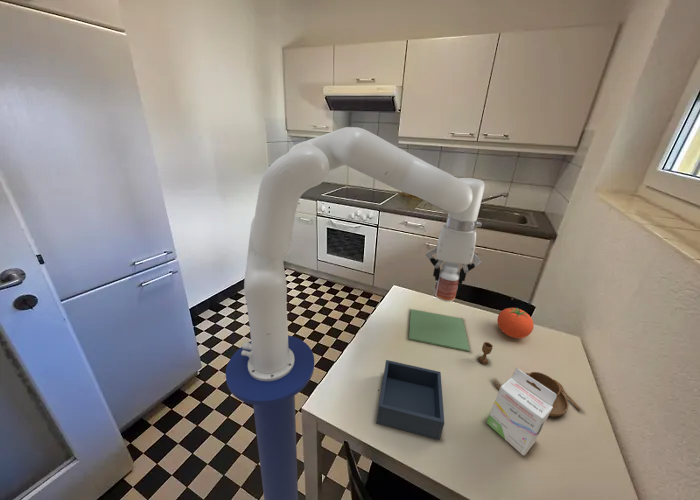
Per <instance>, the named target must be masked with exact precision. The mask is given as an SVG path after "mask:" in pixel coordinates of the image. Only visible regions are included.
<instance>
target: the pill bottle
mask: <svg viewBox="0 0 700 500" xmlns="http://www.w3.org/2000/svg"><path fill="white" fill-rule="evenodd" d="M460 269H461V266H460V265H459V263H452V262H446V261H443V262H442V268H440V273H439V277H438V280H437V281H436V284H435V288H434V296H435V298H436V299H438V300H440V301H442V302H447V303H449V302H453V301H455V299H456V296H457V292H458V287H459V279H460V274H459V273H460Z"/></svg>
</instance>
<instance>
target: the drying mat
mask: <svg viewBox="0 0 700 500" xmlns="http://www.w3.org/2000/svg"><path fill="white" fill-rule="evenodd" d="M409 340H410V341H415V342H418V343H419V342H420V343H423V344H424V343H425V344H430V345H433V346H434V345H435V346H438V347H443V348H444V347H445V348H449V349H453V350H459V351H463V352H470V346H469V342H468V337H467V333H466V328H465V323H464V318H462V317H456V316H450V315H444V314H439V313H435V312H434V313H433V312H429V311H422V310H417V309H412V308H411V309H410V317H409V331H408V341H409Z"/></svg>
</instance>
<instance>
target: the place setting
mask: <svg viewBox="0 0 700 500" xmlns="http://www.w3.org/2000/svg"><path fill="white" fill-rule="evenodd" d="M493 348H494V345H493V344H492V343H490V342H488V341H484V342H483V344H482V347H481V351H482V353H483V354H482V356H479V357H478V358H477V361H478V362H479V363H480V364H481V365H488V364H489V360H488V358H487V356H488V355H490V354H491V353H492V350H493ZM524 373H525V374H527V375H528V376H530V377H531V378H533V379H534V380H536V381H537V382H539V383H540V384H542V385H543V386H545V387H546V388H548V389H549V390H551V391H552V392H554V393H555V394H556V395H557V397H556V400H555V401H554V403H553V405H552V406H553V408H552V410H551V412H550V414H549V416H548V417H560V416H563V415H564V414H566V413H567V411H568V410H569V401H570V402H571V403H572V404H573V405H574V406H575V408H576V409H578V410H579V411H582V410H581V408H580V407H579V405H578V404H577V403H576V402H575V401H574V400H573V399H572V398H571V396H569V394H568V393H567V392H566V391H565V389H564V387H563V385H562V384H561V383H560V382H559V381H557V380H556V379H553V378H552V377H551V376H549V375H547V374H545V373H542V372H539V371H531V372H524ZM491 380H492V382H493V384H494V386H495V387H496V388H497V389H498V391H499V390H500V387H501V386H502V385H501V384H500V382H499V381H498V379H497V378H491ZM526 382H527V383H529V384H530V385H532V386H533V387H535V388H536V389H537V390H539V391H541V389H540V388H538V387H537V386H536V385H535V384H534V383H531V382H530V381H528V380H526Z"/></svg>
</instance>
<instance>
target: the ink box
mask: <svg viewBox="0 0 700 500" xmlns="http://www.w3.org/2000/svg"><path fill="white" fill-rule="evenodd" d="M525 373H526V372H524V371H523V370H521V369H519V368H518V367H516V368H514V371H513V373H512V377H511V376H510V378H508V380H506V381H505V382H504V383H503V384H502V385H500V386H501V387H500V386H499V387H500V390H499V389H498V393H497V395H496V398H495V399H494V402H493V405H492V407H491V410H490V412H489V414H488V417H487V420H486V425H488V426H489V427H490V428H491V429H493V431H495V432H496V433H497V434H498V435H499V436H500V437H501V438H503V439H504V440H505V442H507V443H508V444H509V445H511V446H512V447H513V448H514V449H515V450H516V451H518V452H519V453H520V454H521V455H522V456H526V455H527V454H528V453H529V451H530V449H531V448H532V447H533V445H534V444H535V443H536V441H537V439H538V437H539V435H540V433H541V432H542V429H543V428H544V426H545V424H546V422H547V420H548V418H549V417H550V416H549V414H550V412H551V410H552V408H553V406H552V405H553V403H554V401H555V400H556V397H557V395H556V394H555V393H554V392H552V391H551V390H549V389H548V388H546V387H545V386H543V385H542V384H540V383H539V382H537V381H536V380H534V379H533V378H531V377H530V376H528V375H527V374H525ZM526 380H528V381H530V382H531V383H534V384H535V385H536V386H537V387H538V388H540V389H541V391H539V390H537V389H536V388H535V387H533V386H532V385H530V384H529V383H527V382H526Z"/></svg>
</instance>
